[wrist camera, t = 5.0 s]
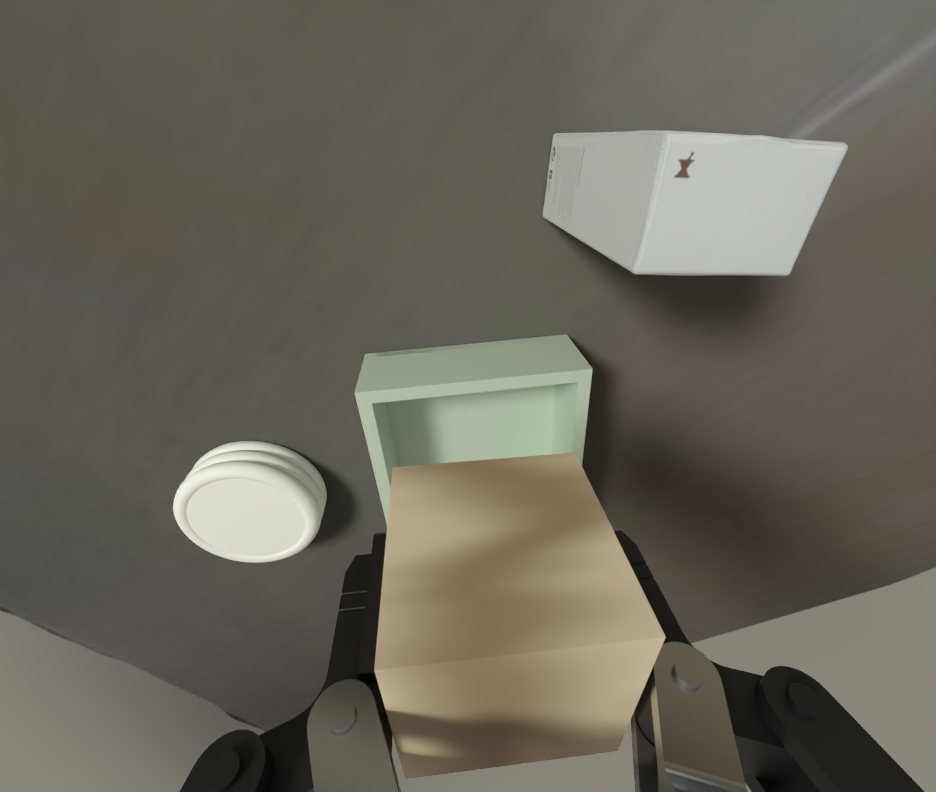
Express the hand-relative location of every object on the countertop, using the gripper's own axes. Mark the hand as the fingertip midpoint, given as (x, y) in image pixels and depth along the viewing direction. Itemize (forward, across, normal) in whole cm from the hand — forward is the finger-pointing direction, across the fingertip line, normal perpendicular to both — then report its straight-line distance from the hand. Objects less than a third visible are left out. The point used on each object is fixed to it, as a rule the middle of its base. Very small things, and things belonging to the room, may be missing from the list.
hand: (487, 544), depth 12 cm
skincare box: (+18, -9, -8) cm, 21 cm away
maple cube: (+1, 0, 0) cm, 1 cm away
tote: (+17, -1, +10) cm, 20 cm away
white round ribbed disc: (+18, +16, +13) cm, 27 cm away
